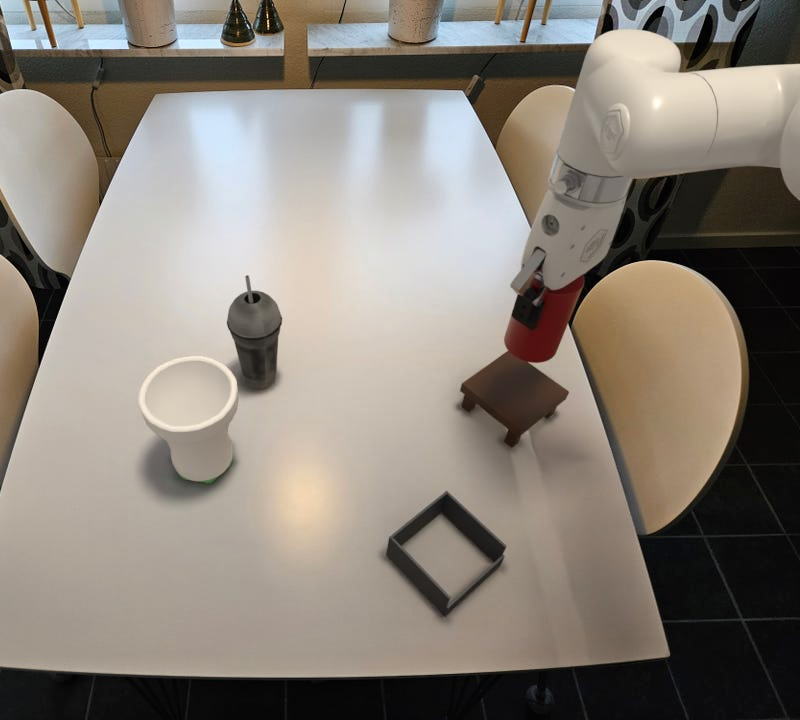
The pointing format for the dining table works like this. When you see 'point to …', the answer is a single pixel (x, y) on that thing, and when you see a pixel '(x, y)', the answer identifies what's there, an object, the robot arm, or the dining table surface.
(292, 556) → the dining table surface
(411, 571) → the dark square frame
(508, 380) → the stool
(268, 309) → the beverage cup
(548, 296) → the can
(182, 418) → the cup
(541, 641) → the dining table surface
